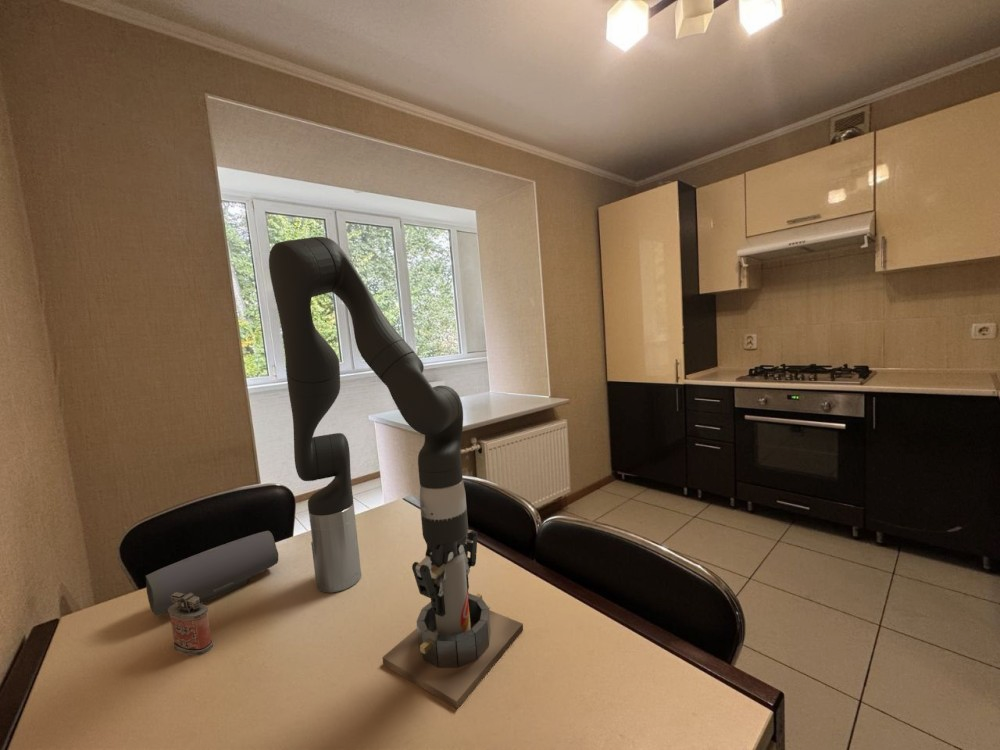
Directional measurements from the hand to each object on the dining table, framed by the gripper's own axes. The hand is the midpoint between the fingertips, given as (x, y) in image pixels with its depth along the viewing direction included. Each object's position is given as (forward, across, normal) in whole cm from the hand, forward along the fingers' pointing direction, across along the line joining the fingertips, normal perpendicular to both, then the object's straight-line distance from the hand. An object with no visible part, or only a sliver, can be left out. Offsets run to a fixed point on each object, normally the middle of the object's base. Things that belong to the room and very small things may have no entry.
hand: (451, 603), depth 70 cm
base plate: (+8, 0, 0) cm, 8 cm away
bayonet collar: (+7, 0, 0) cm, 7 cm away
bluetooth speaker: (+8, -14, +57) cm, 59 cm away
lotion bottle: (+7, 0, 0) cm, 7 cm away
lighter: (+8, -24, +42) cm, 49 cm away
